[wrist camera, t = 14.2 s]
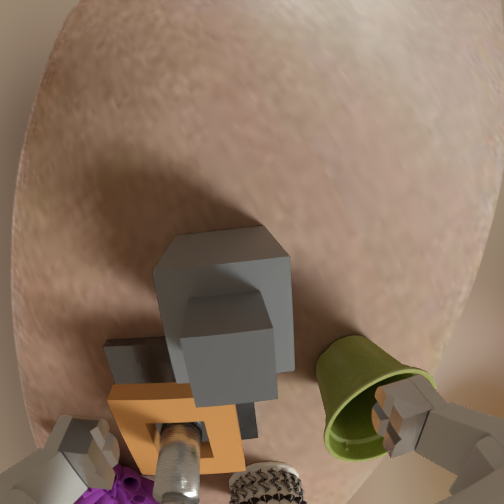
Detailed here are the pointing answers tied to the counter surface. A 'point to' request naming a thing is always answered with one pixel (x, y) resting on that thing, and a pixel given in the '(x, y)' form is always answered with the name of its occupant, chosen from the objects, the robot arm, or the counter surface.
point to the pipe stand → (172, 434)
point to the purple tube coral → (121, 490)
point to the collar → (174, 411)
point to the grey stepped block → (227, 314)
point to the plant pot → (356, 395)
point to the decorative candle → (266, 485)
